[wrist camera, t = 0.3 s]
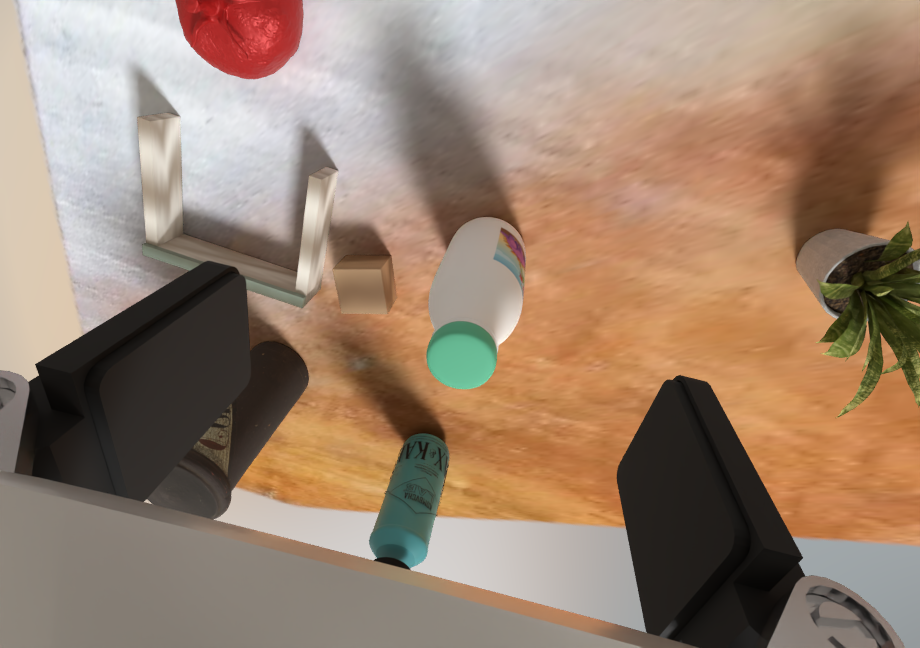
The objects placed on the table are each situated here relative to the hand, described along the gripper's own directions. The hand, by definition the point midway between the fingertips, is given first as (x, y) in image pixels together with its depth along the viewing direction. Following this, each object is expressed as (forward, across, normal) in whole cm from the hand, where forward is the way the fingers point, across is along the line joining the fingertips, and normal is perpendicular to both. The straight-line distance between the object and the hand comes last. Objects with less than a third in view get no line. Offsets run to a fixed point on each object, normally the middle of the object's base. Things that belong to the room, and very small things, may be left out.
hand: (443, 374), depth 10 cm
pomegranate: (+36, +23, -5) cm, 43 cm away
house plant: (+36, -31, +5) cm, 48 cm away
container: (+36, +22, +33) cm, 53 cm away
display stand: (+36, +25, +12) cm, 45 cm away
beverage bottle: (+36, +2, +39) cm, 53 cm away
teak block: (+36, +11, +17) cm, 41 cm away
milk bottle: (+36, 0, +11) cm, 38 cm away
